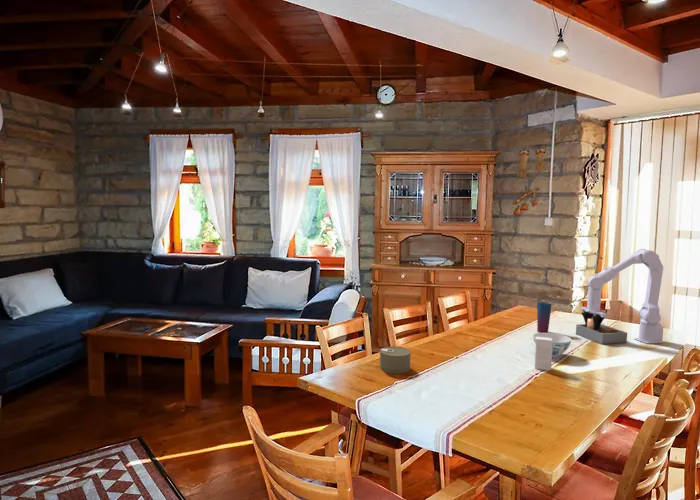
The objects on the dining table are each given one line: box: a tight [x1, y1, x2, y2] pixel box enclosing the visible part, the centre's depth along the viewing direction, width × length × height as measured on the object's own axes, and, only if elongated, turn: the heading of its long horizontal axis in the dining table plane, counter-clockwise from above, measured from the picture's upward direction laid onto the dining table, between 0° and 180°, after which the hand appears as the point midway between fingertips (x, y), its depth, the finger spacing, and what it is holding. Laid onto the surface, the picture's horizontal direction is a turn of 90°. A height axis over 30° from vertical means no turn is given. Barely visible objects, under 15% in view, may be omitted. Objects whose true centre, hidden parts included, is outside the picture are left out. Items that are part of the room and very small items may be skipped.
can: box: [379, 345, 412, 374], centre depth 184 cm, size 12×12×7 cm
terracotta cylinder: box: [587, 318, 598, 332], centre depth 233 cm, size 5×5×7 cm
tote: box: [575, 323, 628, 346], centre depth 231 cm, size 14×18×5 cm
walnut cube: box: [601, 326, 619, 334], centre depth 228 cm, size 5×5×5 cm
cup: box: [536, 300, 552, 333], centre depth 241 cm, size 7×7×15 cm
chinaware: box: [532, 332, 572, 358], centre depth 204 cm, size 15×15×8 cm
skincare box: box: [534, 337, 553, 371], centre depth 187 cm, size 6×4×12 cm
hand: (592, 328), depth 233 cm, fingers closed on terracotta cylinder, 5 cm apart
